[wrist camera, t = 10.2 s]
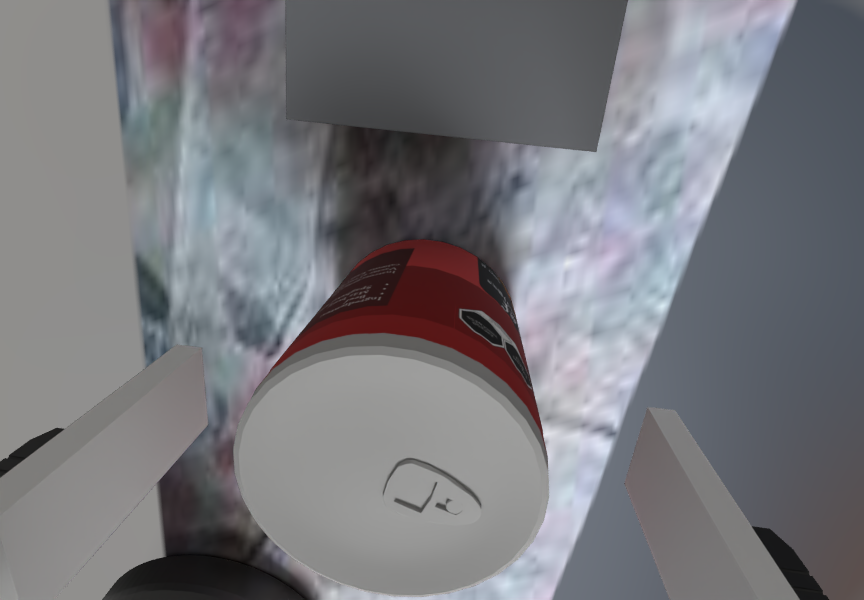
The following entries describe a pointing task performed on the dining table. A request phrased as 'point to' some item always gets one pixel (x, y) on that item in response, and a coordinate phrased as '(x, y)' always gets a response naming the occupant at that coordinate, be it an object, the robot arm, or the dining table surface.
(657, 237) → the dining table surface
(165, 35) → the dining table surface
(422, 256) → the canned food
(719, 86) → the dining table surface
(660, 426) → the robot arm
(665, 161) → the dining table surface
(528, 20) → the breaker housing
